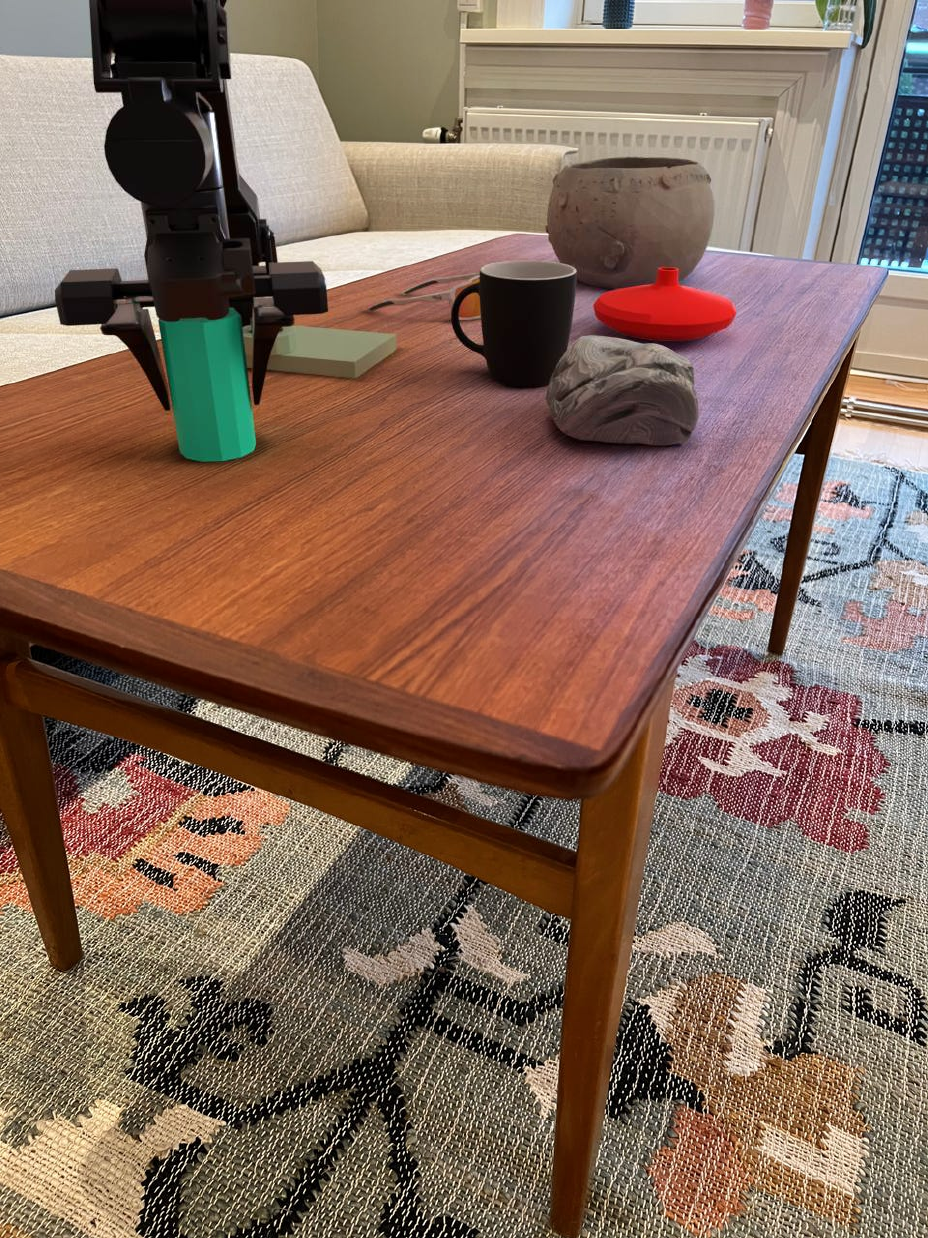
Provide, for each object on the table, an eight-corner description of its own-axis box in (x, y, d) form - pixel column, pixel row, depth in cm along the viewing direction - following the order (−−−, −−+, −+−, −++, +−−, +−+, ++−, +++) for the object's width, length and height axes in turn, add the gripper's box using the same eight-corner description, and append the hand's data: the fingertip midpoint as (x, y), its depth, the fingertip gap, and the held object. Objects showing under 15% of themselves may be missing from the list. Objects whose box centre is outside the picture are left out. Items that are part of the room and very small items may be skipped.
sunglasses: (476, 325, 107) (471, 280, 105) (362, 332, 113) (355, 289, 111) (516, 300, 119) (512, 259, 116) (411, 307, 125) (405, 268, 122)
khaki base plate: (230, 370, 93) (226, 334, 91) (286, 340, 103) (283, 307, 101) (350, 382, 89) (348, 345, 87) (396, 350, 99) (395, 316, 97)
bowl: (594, 256, 146) (601, 150, 138) (733, 274, 134) (750, 158, 126) (513, 281, 130) (516, 162, 122) (663, 303, 118) (678, 173, 110)
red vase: (640, 359, 96) (647, 288, 92) (566, 325, 108) (569, 261, 105) (762, 344, 102) (774, 276, 98) (679, 312, 114) (686, 251, 110)
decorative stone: (593, 353, 86) (628, 255, 78) (716, 432, 82) (766, 338, 75) (499, 420, 78) (528, 318, 70) (631, 511, 74) (677, 415, 66)
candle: (238, 464, 71) (217, 303, 65) (166, 458, 72) (138, 299, 66) (267, 437, 76) (250, 285, 70) (200, 432, 77) (177, 282, 71)
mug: (579, 369, 93) (586, 263, 88) (557, 396, 86) (564, 281, 80) (466, 358, 96) (466, 255, 91) (436, 383, 89) (434, 272, 84)
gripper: (15, 206, 56) (71, 452, 64) (326, 199, 59) (342, 433, 67) (46, 185, 65) (92, 401, 73) (313, 179, 69) (328, 387, 77)
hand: (212, 406), depth 73 cm, fingers closed on candle, 6 cm apart
